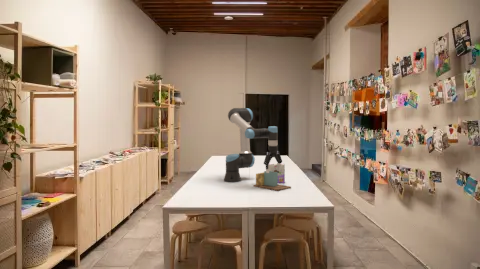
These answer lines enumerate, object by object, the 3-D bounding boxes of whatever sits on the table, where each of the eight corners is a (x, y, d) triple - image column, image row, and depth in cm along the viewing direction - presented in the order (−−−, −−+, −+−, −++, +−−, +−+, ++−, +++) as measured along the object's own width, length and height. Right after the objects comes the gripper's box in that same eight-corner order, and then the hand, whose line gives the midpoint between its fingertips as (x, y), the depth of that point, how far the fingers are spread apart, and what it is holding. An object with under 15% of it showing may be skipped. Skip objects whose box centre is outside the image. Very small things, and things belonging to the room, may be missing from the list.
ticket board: (253, 186, 294) (253, 173, 293) (266, 183, 305) (266, 171, 304) (278, 191, 275) (278, 177, 275) (291, 188, 287) (291, 175, 286)
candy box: (284, 182, 312) (284, 163, 311) (284, 183, 306) (284, 164, 305) (268, 181, 313) (268, 163, 313) (268, 183, 308) (268, 164, 307)
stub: (264, 184, 293) (264, 171, 292) (268, 183, 296) (268, 170, 296) (273, 186, 286) (273, 172, 285) (277, 185, 289) (277, 171, 288)
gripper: (266, 146, 276) (266, 174, 277) (286, 144, 294) (286, 170, 295) (259, 146, 281) (259, 173, 282) (279, 144, 299) (279, 169, 300)
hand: (273, 172), depth 288 cm, fingers open, 13 cm apart
